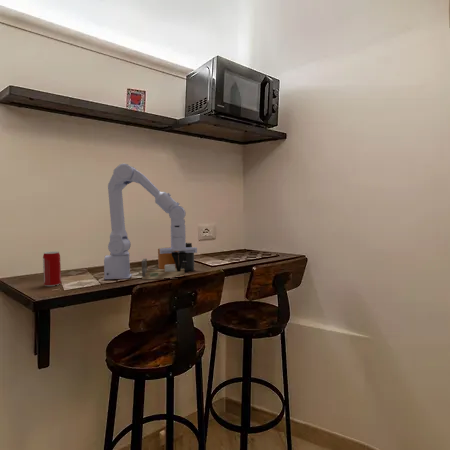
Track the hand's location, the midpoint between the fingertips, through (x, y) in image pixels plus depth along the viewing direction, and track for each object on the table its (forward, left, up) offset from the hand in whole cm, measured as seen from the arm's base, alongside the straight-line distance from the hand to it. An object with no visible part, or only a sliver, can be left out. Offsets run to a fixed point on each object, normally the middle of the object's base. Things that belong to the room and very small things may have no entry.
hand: (178, 271), depth 140 cm
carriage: (-3, 0, -1) cm, 4 cm away
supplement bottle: (+3, +13, -2) cm, 14 cm away
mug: (-4, +22, -2) cm, 22 cm away
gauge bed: (-6, 0, -2) cm, 6 cm away
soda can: (-45, -7, -2) cm, 45 cm away
